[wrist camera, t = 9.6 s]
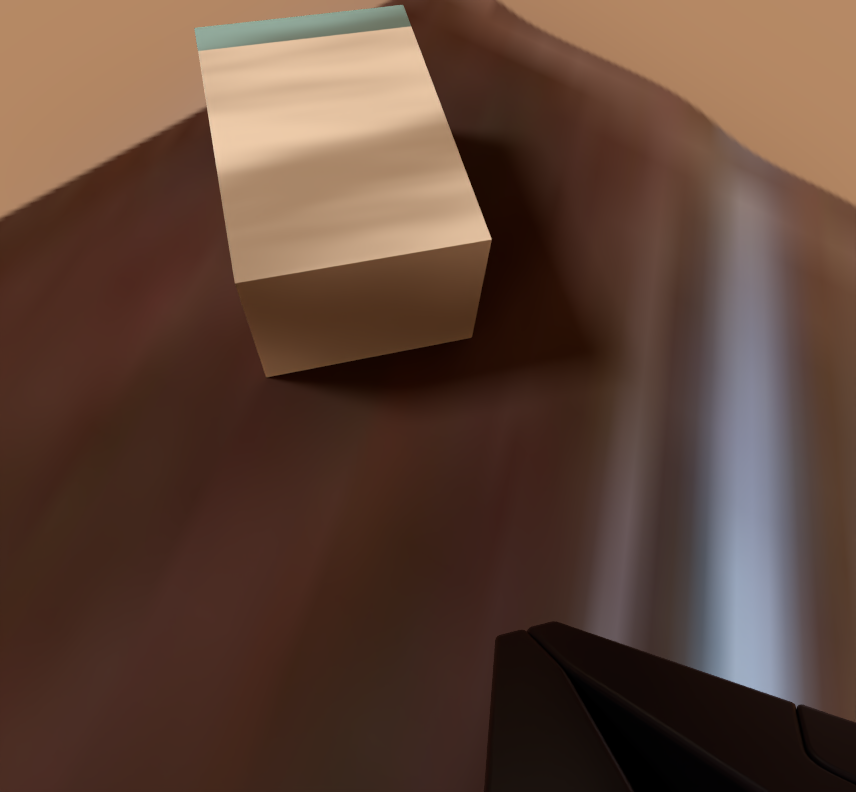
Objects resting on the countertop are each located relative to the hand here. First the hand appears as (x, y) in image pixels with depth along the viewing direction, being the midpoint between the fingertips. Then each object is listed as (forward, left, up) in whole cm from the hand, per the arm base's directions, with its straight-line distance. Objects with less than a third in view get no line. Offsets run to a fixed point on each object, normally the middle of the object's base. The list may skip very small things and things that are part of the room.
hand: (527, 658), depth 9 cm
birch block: (+7, +6, -5) cm, 11 cm away
